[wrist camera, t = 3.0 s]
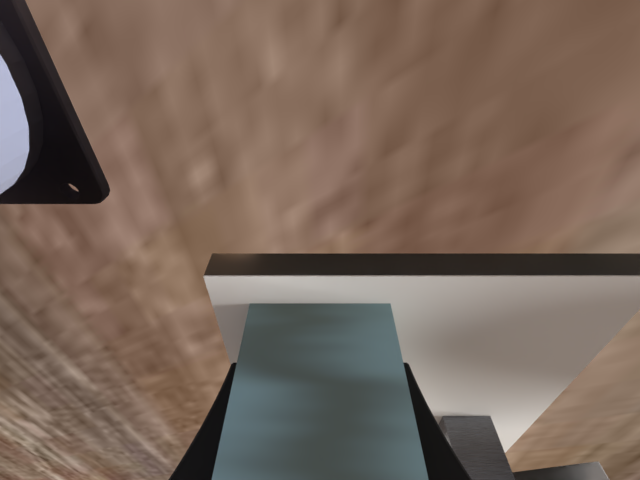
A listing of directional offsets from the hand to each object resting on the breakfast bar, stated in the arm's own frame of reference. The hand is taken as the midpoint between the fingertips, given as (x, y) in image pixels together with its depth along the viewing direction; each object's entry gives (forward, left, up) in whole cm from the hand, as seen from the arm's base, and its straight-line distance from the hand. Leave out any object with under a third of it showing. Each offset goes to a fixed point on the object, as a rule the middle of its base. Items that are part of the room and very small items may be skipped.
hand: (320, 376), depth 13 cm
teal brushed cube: (0, 0, -1) cm, 1 cm away
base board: (+4, -4, -3) cm, 6 cm away
